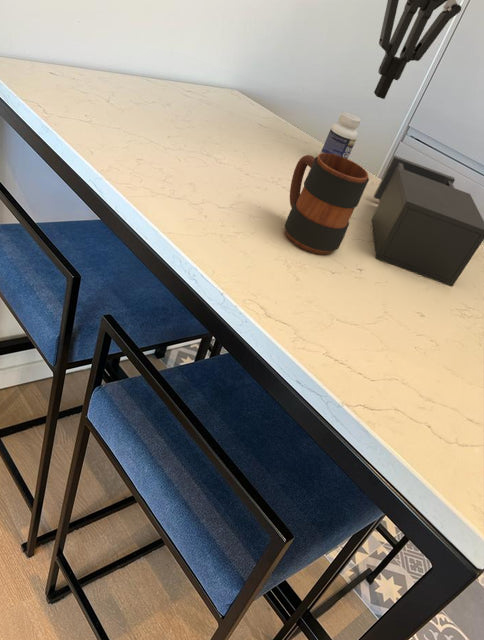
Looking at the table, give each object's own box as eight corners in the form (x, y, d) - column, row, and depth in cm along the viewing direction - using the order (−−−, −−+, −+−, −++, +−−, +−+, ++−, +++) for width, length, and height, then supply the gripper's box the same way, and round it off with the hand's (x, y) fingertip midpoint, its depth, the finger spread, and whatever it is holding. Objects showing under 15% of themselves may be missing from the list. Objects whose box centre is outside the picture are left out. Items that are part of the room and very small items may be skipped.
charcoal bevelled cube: (371, 219, 98) (397, 167, 92) (439, 244, 98) (470, 193, 92) (375, 258, 86) (406, 201, 80) (452, 286, 87) (489, 231, 81)
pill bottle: (340, 173, 111) (362, 124, 105) (315, 163, 112) (335, 113, 106) (344, 166, 115) (366, 118, 110) (320, 156, 116) (340, 108, 110)
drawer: (372, 186, 109) (391, 146, 104) (427, 206, 109) (449, 168, 104) (377, 225, 94) (400, 181, 89) (441, 249, 95) (468, 206, 90)
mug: (298, 212, 91) (328, 141, 84) (348, 254, 84) (385, 181, 77) (257, 214, 86) (285, 138, 78) (307, 258, 79) (342, 180, 72)
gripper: (477, -46, 93) (406, 101, 107) (405, -75, 91) (342, 79, 105) (494, -41, 87) (416, 113, 101) (417, -72, 85) (349, 90, 99)
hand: (379, 95), depth 103 cm, fingers closed
